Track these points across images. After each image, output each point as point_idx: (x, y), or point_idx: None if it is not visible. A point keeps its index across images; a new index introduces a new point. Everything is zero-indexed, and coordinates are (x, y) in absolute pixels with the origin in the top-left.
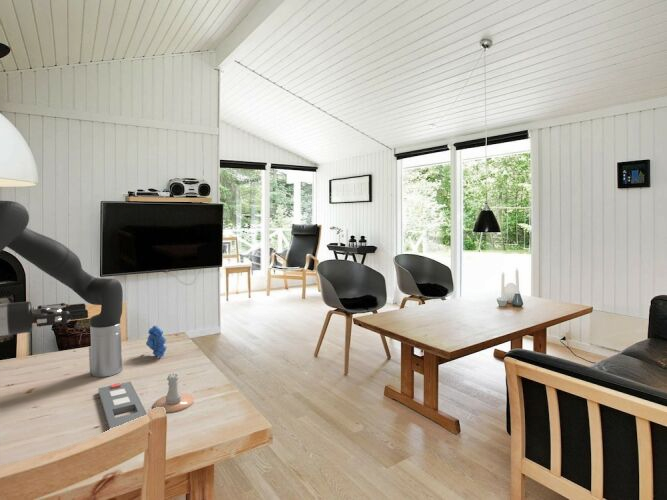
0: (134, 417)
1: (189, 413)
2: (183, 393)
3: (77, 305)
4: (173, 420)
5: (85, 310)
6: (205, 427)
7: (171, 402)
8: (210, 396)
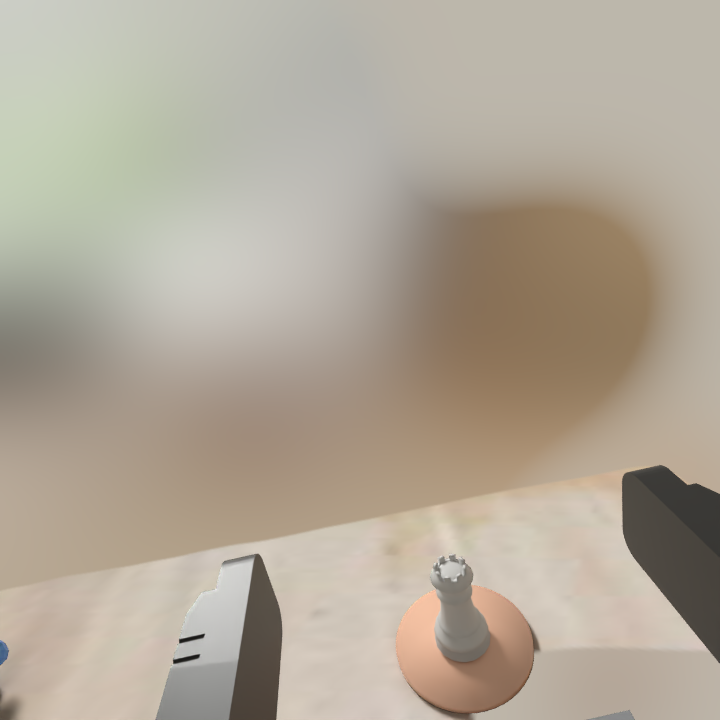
0: None
1: (555, 602)
2: (407, 611)
3: (249, 626)
4: (600, 646)
5: (670, 476)
6: None
7: (487, 640)
8: (449, 551)
